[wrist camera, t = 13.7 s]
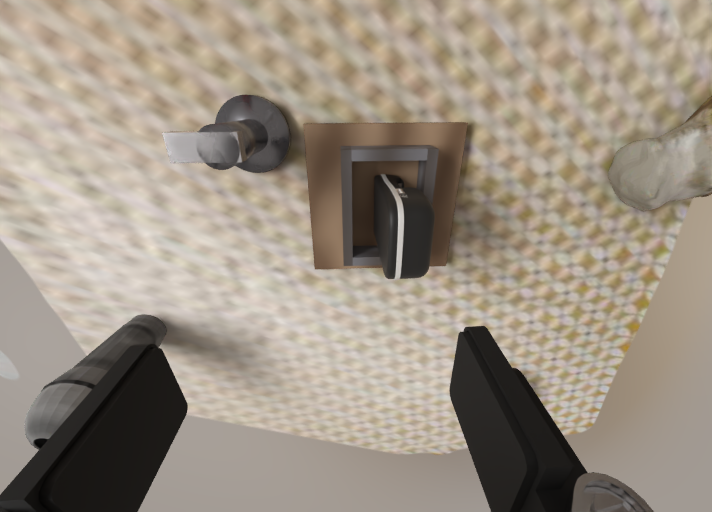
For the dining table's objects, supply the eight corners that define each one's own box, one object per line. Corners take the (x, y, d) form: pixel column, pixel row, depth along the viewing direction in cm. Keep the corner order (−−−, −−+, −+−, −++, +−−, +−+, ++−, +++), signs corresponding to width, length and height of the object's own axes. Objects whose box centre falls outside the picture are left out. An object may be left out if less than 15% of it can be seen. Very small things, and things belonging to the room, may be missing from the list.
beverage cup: (153, 298, 38) (-16, 471, 20) (188, 338, 41) (70, 518, 23) (106, 316, 39) (-95, 497, 21) (144, 354, 42) (-2, 538, 24)
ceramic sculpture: (675, 140, 23) (880, 58, 22) (586, 133, 31) (734, 72, 30) (662, 253, 28) (830, 190, 27) (588, 222, 35) (715, 172, 34)
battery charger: (406, 233, 34) (433, 287, 24) (373, 234, 34) (386, 289, 24) (410, 171, 31) (444, 203, 21) (373, 171, 31) (389, 204, 20)
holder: (463, 122, 30) (480, 124, 26) (443, 262, 37) (454, 278, 34) (304, 123, 29) (299, 126, 26) (315, 265, 36) (312, 282, 33)
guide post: (286, 94, 28) (260, 90, 19) (293, 170, 31) (274, 196, 22) (211, 95, 28) (150, 90, 19) (226, 171, 31) (180, 197, 22)
